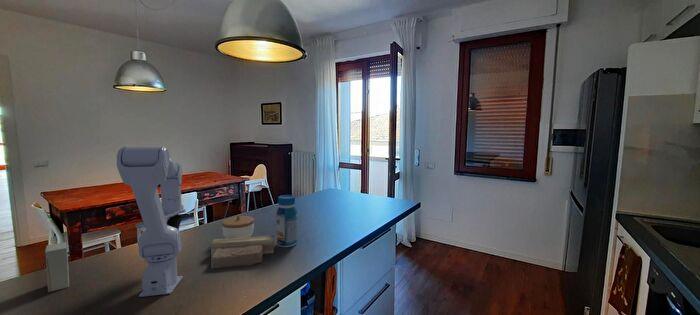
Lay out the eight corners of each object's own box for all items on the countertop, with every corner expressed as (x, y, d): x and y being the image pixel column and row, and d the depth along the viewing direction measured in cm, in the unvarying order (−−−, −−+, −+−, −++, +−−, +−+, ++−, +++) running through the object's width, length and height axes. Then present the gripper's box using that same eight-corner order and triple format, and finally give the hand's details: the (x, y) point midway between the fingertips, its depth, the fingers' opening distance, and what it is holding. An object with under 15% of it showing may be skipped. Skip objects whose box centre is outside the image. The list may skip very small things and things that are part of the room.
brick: (210, 269, 94) (210, 256, 93) (216, 258, 102) (215, 246, 101) (261, 265, 98) (261, 252, 97) (263, 254, 106) (263, 242, 105)
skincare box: (49, 284, 83) (45, 245, 82) (70, 279, 86) (67, 241, 85) (47, 293, 79) (44, 251, 78) (69, 287, 82) (66, 247, 81)
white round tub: (254, 234, 126) (253, 210, 125) (255, 244, 114) (254, 218, 113) (223, 237, 121) (222, 213, 120) (221, 249, 110) (220, 221, 109)
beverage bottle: (295, 248, 111) (294, 199, 109) (274, 248, 111) (273, 198, 109) (299, 240, 120) (298, 194, 118) (279, 239, 119) (278, 194, 118)
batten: (273, 252, 106) (273, 239, 106) (211, 258, 102) (210, 243, 101) (274, 248, 110) (273, 235, 110) (214, 253, 106) (213, 239, 105)
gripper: (175, 202, 88) (177, 244, 89) (191, 192, 102) (193, 228, 103) (150, 203, 87) (152, 245, 88) (170, 193, 101) (172, 229, 102)
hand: (173, 236), depth 96 cm, fingers closed
